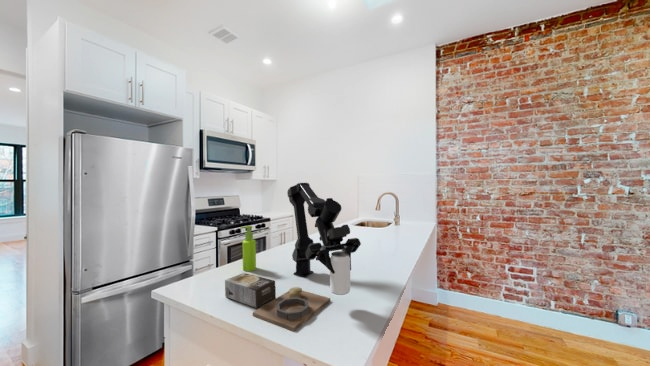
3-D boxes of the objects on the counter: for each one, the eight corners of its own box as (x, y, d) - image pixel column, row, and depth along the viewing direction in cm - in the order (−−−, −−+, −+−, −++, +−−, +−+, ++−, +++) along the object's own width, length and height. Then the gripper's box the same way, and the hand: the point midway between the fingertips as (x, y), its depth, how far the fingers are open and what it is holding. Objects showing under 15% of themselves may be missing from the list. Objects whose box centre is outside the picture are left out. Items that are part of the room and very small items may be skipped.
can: (348, 296, 78) (347, 257, 78) (327, 294, 80) (327, 255, 79) (352, 287, 84) (351, 251, 84) (333, 285, 86) (332, 250, 86)
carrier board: (293, 290, 95) (293, 281, 95) (330, 301, 87) (330, 291, 87) (252, 315, 78) (252, 304, 78) (293, 331, 70) (293, 319, 70)
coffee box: (244, 271, 98) (276, 279, 89) (244, 288, 98) (276, 297, 90) (224, 279, 90) (256, 289, 82) (224, 297, 90) (257, 309, 82)
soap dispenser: (242, 267, 122) (241, 225, 121) (257, 266, 122) (256, 225, 122) (239, 271, 116) (238, 227, 116) (254, 270, 116) (254, 227, 116)
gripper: (308, 219, 81) (323, 264, 71) (358, 214, 89) (377, 254, 79) (300, 238, 88) (312, 281, 78) (346, 232, 96) (363, 271, 86)
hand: (342, 271), depth 80 cm, fingers closed on can, 5 cm apart
